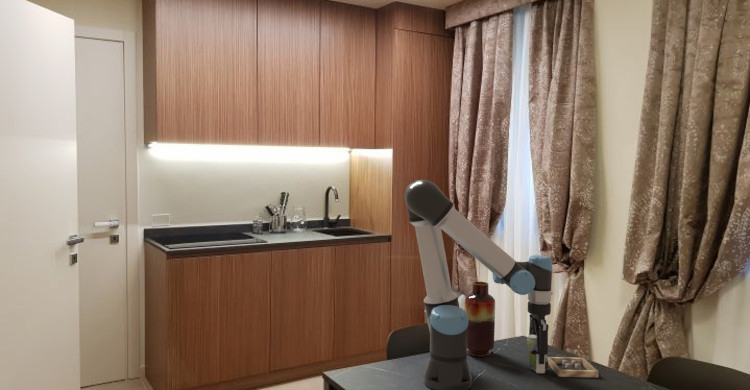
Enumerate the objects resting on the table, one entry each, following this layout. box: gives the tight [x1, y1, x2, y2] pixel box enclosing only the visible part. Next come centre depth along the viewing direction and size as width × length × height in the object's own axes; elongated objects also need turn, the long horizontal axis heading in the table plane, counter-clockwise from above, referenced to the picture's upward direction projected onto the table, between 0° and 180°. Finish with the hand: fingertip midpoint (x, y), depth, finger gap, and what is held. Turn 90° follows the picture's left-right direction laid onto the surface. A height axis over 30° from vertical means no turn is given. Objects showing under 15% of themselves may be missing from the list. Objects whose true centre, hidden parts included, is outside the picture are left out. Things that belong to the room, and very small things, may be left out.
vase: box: [464, 281, 496, 358], centre depth 198 cm, size 11×11×26 cm
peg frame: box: [547, 356, 599, 378], centre depth 183 cm, size 13×13×2 cm
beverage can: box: [526, 334, 550, 372], centre depth 182 cm, size 6×7×12 cm
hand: (537, 368), depth 182 cm, fingers closed on beverage can, 6 cm apart
